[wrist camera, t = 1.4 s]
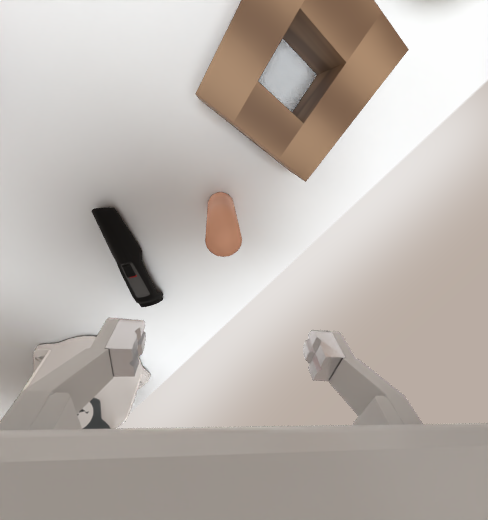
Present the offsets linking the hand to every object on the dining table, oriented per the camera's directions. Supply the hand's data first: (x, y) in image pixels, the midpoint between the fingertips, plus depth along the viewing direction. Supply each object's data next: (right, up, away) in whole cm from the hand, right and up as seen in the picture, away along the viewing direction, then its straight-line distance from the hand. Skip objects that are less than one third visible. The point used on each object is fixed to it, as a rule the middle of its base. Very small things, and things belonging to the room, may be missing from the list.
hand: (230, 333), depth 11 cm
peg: (-2, +10, +18) cm, 21 cm away
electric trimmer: (-15, +4, +20) cm, 25 cm away
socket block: (+4, +21, +12) cm, 25 cm away
